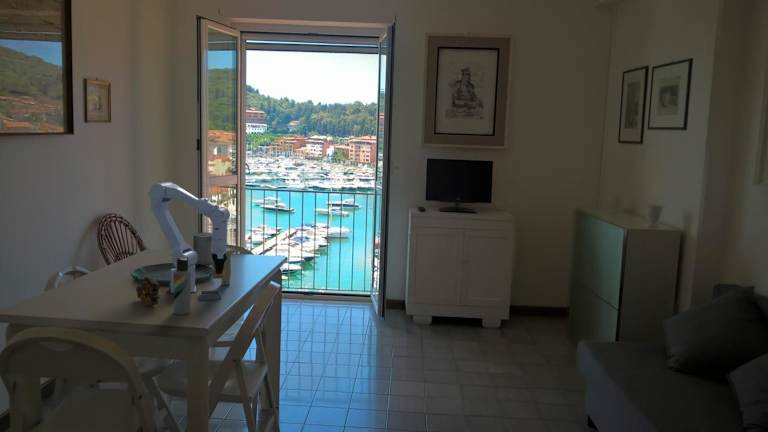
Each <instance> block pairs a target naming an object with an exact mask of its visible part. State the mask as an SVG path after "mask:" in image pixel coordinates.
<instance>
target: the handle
mask: <svg viewBox="0 0 768 432" xmlns="http://www.w3.org/2000/svg"><path fill="white" fill-rule="evenodd" d="M227 249H230V252H226V256H227V259H226V261H225V263H226V274H225V278H221V285H223V286H229V285H231V276H232V264H231V263H232V262H231V261H232V260H231V256H232V255H233V254H234V253H235V249H234V248H230V247H227Z"/></svg>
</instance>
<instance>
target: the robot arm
mask: <svg viewBox="0 0 768 432" xmlns="http://www.w3.org/2000/svg"><path fill="white" fill-rule="evenodd" d="M147 194H148V196H149V198H150V209H151V211H152V213H153V216H154V217H155V218H156V221H157V222H158V225H159V227H160V228H161V230H162V233H163V234H164V236H165V238H166V240H167V241H168V243H169V245H170V247H171V253H170V256H171V258H172V264H173V266H174V267H175V268H170V282H169V288H170V293H171V294H174V271H175V270H177V259H178V257H187V258H188V270H190V271H191V293H196V292H197V286H196V265H197V264H196V263H197V261H198V254H197V253H196V252H195V251H194V250H193V248H192V245H191V244H188V243H187V242H186V241H185V240H184V239H185V238H184V237H183V235H182V234H181V232H180V229H179V227H178V226H177V224H176V223H175V221H174V219H173V217H172V214H171V213H170V210H169V209H168V205H169V202H170V201H171V200H172V199H175V198H176V199H178V200H181V201H182V202H184V203H186V204H189V205H190V206H192V207H194V210H195V212H197V213H199V214H201V215H202V216H205V217H206V218H208V219H209V220H210V222H211V224H212V225H211V233H212V249H211V252H212V254H211V255H212V258H213V260H214V263H215V269H216V274H222V272H223V267H224V263H225V261H226V259H227V256H226V252H230V249H227V248H228V220H229V219H230V217H231V215H230V214H231V212H230V210H229V209H228V208H226V207H225V206H220V205H219V204H215V203H213V202H211V201H210V200H209V198H207V197H205V198H204V197H201V198H198V197H197V196H195V195H193V194H191V193H190V192H188V191H186V190H185V189H184V188H182V187H180V186H179V184H175V183H174V182H172V181H166V182H165V181H164V182H160V183H159V182H158V183H154V184H152V185H151V186H150V188H149V190H148V193H147Z"/></svg>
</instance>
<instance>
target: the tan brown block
mask: <svg viewBox="0 0 768 432" xmlns="http://www.w3.org/2000/svg"><path fill="white" fill-rule="evenodd" d="M225 274H226V263H224V267H223V272H222V274H216V269H215V263H214V262H212V264H211V279H215V280H216V279H218V280H220V279H221V278H225ZM221 280H222V279H221Z"/></svg>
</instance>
